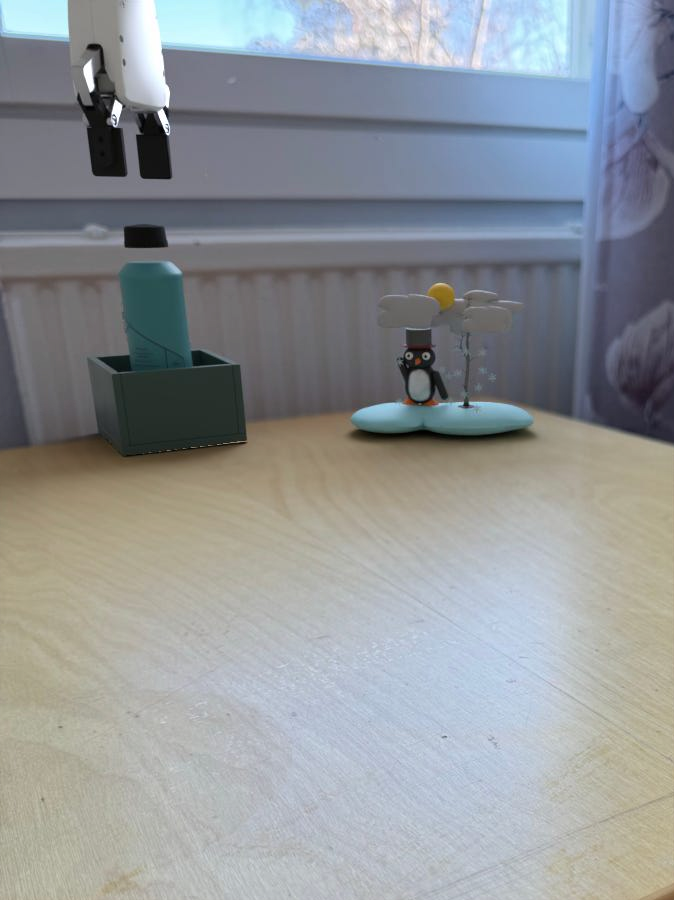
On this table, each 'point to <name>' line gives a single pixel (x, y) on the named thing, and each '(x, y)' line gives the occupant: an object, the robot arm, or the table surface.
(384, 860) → the table surface
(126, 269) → the beverage bottle
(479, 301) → the penguin figurine
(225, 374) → the holder bin
